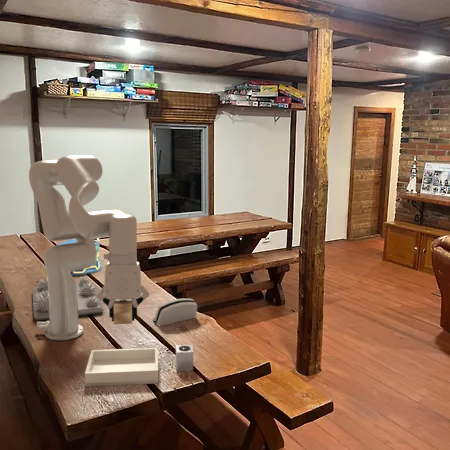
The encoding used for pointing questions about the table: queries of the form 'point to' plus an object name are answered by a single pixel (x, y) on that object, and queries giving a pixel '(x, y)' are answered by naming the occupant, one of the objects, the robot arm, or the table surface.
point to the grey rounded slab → (176, 311)
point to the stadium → (92, 269)
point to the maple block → (123, 311)
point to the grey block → (184, 357)
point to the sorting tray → (122, 367)
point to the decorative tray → (86, 299)
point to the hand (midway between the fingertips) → (123, 318)
